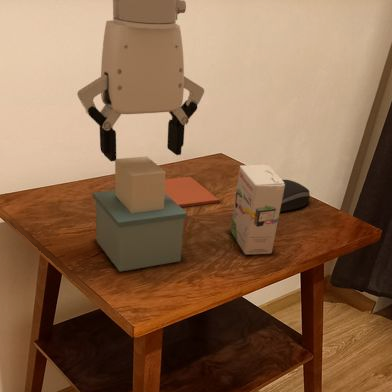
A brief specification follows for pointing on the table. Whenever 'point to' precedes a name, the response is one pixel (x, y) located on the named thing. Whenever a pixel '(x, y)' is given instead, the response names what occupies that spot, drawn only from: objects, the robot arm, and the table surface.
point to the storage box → (138, 232)
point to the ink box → (257, 208)
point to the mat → (188, 192)
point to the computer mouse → (294, 196)
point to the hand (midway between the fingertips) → (142, 154)
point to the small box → (139, 184)
